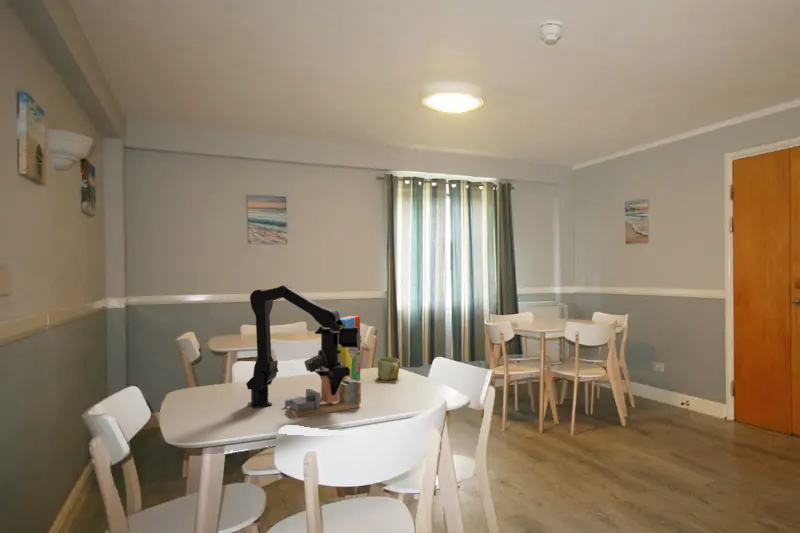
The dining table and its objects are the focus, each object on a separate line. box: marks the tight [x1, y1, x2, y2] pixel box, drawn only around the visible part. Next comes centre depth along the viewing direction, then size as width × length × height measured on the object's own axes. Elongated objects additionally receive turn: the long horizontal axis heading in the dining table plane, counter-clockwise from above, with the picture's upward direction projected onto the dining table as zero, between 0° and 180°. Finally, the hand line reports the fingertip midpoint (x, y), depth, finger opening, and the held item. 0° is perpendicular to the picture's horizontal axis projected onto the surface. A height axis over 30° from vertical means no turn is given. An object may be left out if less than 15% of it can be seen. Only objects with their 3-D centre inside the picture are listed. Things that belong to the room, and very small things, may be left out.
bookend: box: [289, 388, 321, 412], centre depth 165 cm, size 8×8×5 cm
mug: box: [377, 356, 401, 381], centre depth 217 cm, size 12×10×10 cm
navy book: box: [284, 395, 304, 408], centre depth 173 cm, size 5×7×2 cm
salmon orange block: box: [320, 376, 339, 403], centre depth 170 cm, size 5×4×8 cm
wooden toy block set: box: [285, 377, 362, 418], centre depth 169 cm, size 10×22×8 cm, turn 123°
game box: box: [335, 315, 361, 383], centre depth 206 cm, size 21×6×27 cm, turn 168°
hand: (329, 393), depth 170 cm, fingers closed on salmon orange block, 5 cm apart
